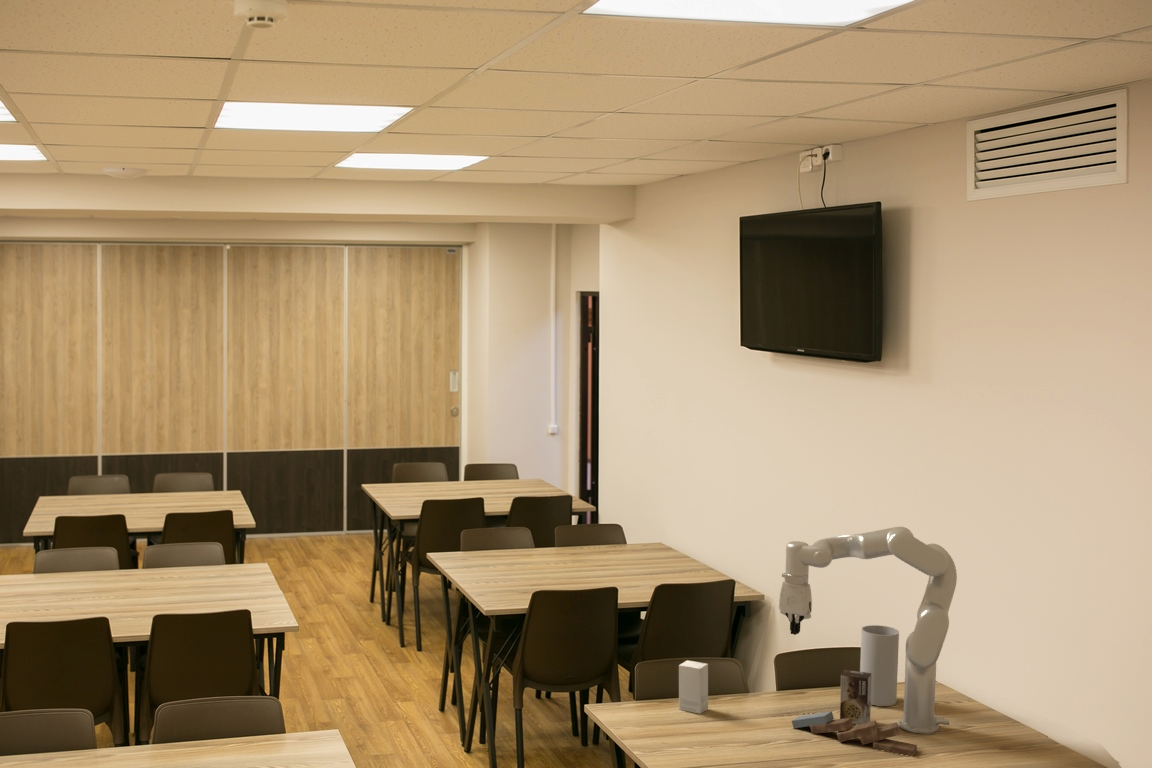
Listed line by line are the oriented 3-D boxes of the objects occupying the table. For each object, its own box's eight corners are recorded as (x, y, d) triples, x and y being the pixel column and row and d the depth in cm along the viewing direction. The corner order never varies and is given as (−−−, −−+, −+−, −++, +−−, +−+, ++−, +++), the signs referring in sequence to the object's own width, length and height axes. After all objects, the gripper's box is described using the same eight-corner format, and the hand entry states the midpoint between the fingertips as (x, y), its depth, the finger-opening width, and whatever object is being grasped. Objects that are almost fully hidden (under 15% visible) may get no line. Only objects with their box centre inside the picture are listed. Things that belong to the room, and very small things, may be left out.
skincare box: (708, 709, 374) (709, 663, 373) (699, 715, 369) (701, 668, 368) (686, 704, 379) (687, 659, 378) (677, 709, 373) (678, 664, 372)
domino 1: (819, 728, 358) (853, 725, 351) (811, 733, 354) (845, 730, 347) (817, 721, 359) (851, 717, 351) (809, 726, 354) (843, 722, 347)
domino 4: (877, 744, 347) (916, 752, 341) (872, 750, 342) (912, 758, 337) (877, 737, 347) (916, 744, 341) (873, 742, 342) (912, 750, 336)
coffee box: (870, 721, 366) (872, 672, 365) (867, 727, 360) (868, 678, 359) (842, 716, 370) (844, 668, 369) (838, 722, 364) (840, 674, 363)
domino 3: (862, 740, 349) (899, 729, 347) (862, 744, 344) (900, 734, 341) (859, 732, 350) (896, 722, 347) (859, 737, 344) (897, 726, 342)
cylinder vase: (853, 695, 391) (856, 625, 390) (887, 694, 393) (890, 625, 391) (866, 707, 379) (869, 635, 377) (902, 707, 380) (904, 635, 379)
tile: (801, 723, 363) (834, 718, 356) (793, 728, 358) (826, 723, 351) (799, 716, 363) (831, 711, 356) (791, 720, 358) (824, 715, 352)
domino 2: (841, 737, 351) (878, 727, 348) (839, 742, 346) (877, 732, 342) (838, 729, 352) (875, 720, 348) (836, 734, 346) (874, 725, 343)
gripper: (771, 577, 371) (769, 631, 372) (812, 584, 362) (810, 640, 363) (781, 573, 377) (780, 627, 378) (822, 580, 368) (820, 635, 369)
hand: (794, 633), depth 370 cm, fingers closed
